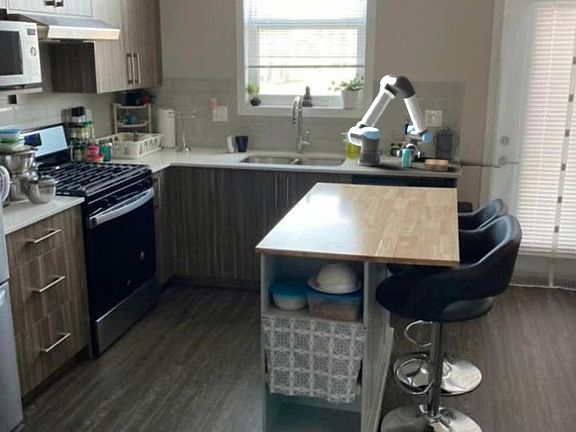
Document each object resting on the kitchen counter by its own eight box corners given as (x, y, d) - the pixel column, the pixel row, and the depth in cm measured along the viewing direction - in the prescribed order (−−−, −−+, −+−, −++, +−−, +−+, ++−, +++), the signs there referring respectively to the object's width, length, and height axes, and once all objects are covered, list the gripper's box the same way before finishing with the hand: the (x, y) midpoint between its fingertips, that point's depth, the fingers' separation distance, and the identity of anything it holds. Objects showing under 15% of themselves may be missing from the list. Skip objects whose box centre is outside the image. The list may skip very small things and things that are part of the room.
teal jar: (401, 167, 409) (402, 150, 406) (402, 165, 414) (403, 148, 411) (410, 167, 407) (411, 150, 405) (410, 166, 412) (411, 149, 410)
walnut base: (424, 170, 399) (424, 163, 398) (425, 165, 416) (426, 159, 415) (446, 171, 396) (447, 165, 395) (447, 166, 412) (448, 160, 411)
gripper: (428, 156, 436) (427, 161, 416) (392, 154, 442) (388, 159, 422) (429, 145, 434) (427, 150, 414) (392, 144, 440) (389, 148, 420)
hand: (408, 155), depth 418 cm, fingers open, 13 cm apart
